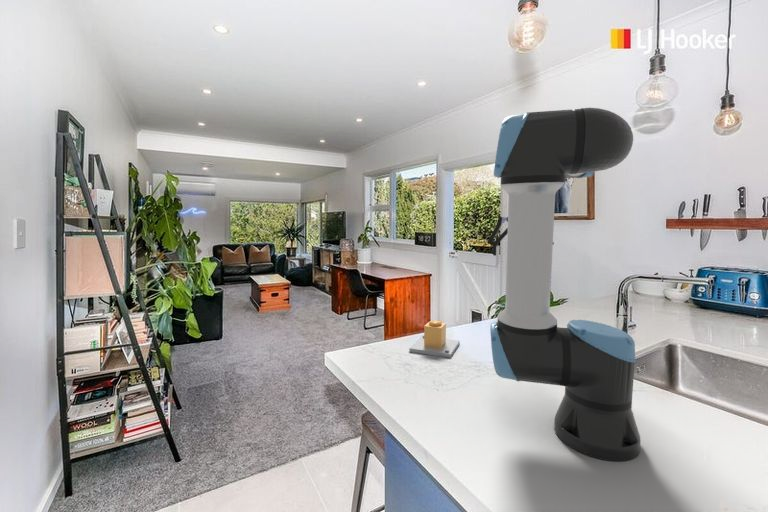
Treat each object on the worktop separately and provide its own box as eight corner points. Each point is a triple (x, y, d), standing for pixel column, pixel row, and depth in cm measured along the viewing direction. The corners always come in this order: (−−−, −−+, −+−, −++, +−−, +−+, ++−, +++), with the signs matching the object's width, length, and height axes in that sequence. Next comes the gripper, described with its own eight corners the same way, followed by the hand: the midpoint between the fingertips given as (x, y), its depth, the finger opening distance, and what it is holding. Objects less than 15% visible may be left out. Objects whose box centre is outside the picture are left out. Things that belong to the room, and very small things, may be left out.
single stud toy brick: (441, 348, 121) (441, 325, 120) (424, 345, 124) (424, 323, 123) (445, 342, 127) (445, 320, 126) (429, 340, 129) (429, 319, 128)
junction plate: (450, 357, 116) (450, 339, 115) (409, 351, 121) (409, 333, 121) (459, 343, 129) (459, 327, 128) (422, 338, 134) (422, 322, 134)
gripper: (563, 200, 115) (560, 266, 117) (483, 202, 125) (481, 263, 127) (564, 199, 108) (561, 269, 111) (479, 201, 118) (478, 265, 121)
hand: (518, 266), depth 119 cm, fingers open, 13 cm apart
